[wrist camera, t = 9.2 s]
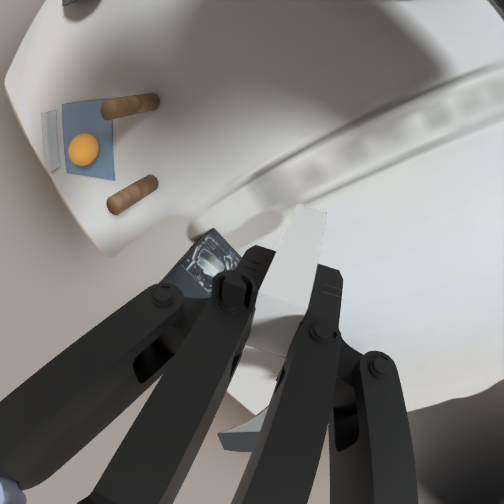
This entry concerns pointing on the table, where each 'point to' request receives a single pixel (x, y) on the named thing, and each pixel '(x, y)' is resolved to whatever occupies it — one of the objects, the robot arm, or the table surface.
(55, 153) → the wall
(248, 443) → the grey curved piece
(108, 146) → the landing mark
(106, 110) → the post
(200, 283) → the box
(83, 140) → the ball
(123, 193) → the post
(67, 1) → the rock
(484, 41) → the table surface
